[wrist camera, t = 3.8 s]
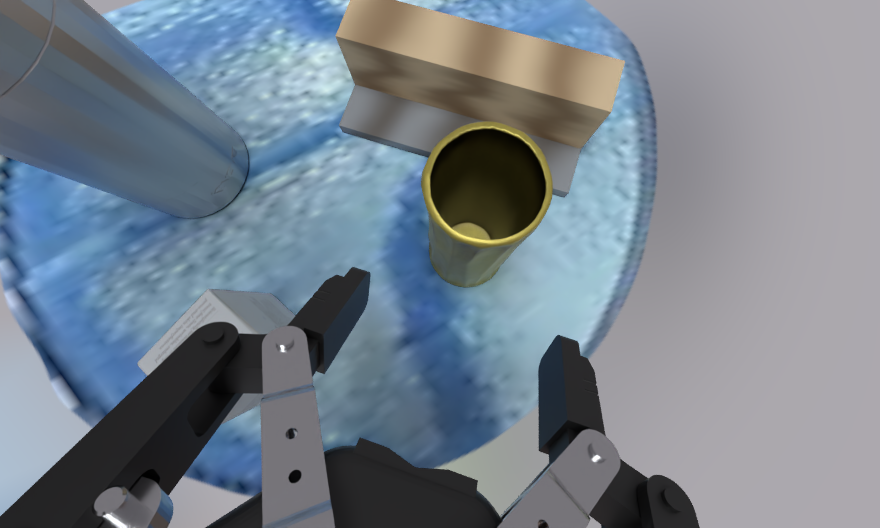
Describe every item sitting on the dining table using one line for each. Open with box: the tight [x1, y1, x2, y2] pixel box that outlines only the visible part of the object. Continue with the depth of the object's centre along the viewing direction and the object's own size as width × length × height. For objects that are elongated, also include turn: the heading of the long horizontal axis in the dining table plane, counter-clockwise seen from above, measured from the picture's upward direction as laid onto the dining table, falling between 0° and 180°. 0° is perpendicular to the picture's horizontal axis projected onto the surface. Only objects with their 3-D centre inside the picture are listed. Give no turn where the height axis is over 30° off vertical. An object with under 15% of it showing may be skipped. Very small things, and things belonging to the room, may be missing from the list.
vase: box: [421, 121, 553, 287], centre depth 20 cm, size 6×6×14 cm
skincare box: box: [138, 289, 295, 424], centre depth 22 cm, size 6×6×7 cm
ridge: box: [336, 0, 625, 197], centre depth 26 cm, size 20×12×6 cm, turn 72°
